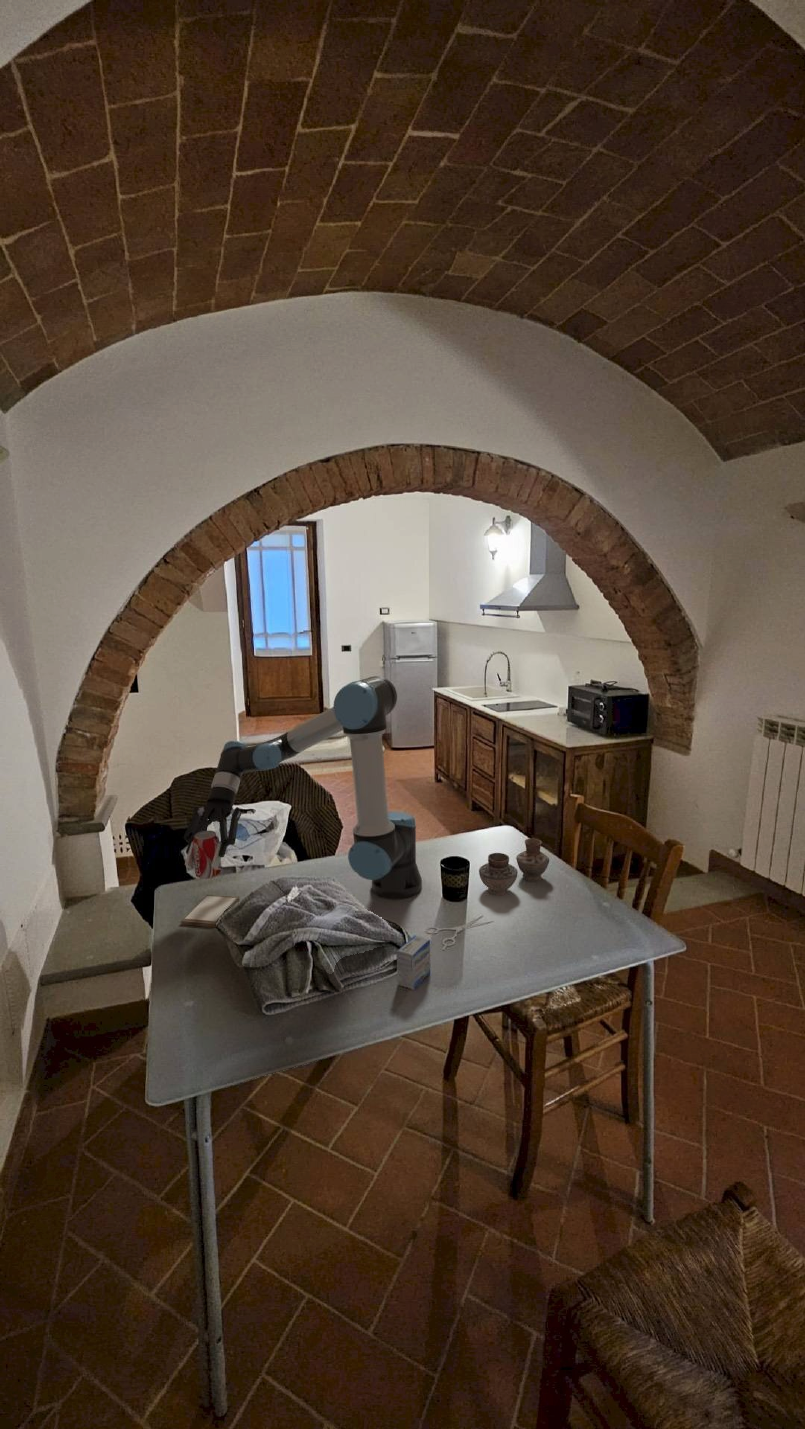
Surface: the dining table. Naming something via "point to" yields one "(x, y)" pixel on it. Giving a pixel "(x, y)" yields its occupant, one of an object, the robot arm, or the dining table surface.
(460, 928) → the scissors
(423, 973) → the medicine box
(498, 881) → the pottery
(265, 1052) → the dining table surface
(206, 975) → the dining table surface
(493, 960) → the dining table surface
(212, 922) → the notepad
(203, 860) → the soda can
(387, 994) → the dining table surface
